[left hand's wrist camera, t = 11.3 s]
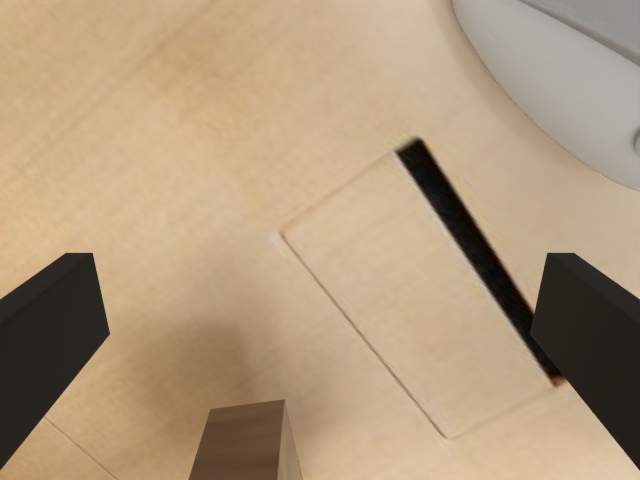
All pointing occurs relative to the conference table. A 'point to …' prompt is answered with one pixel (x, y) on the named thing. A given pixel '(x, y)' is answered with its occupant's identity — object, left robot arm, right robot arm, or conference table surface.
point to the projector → (568, 72)
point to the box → (247, 444)
